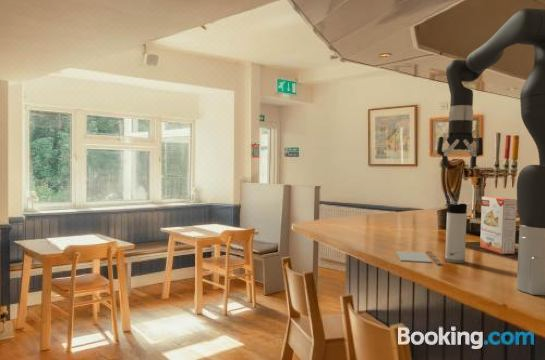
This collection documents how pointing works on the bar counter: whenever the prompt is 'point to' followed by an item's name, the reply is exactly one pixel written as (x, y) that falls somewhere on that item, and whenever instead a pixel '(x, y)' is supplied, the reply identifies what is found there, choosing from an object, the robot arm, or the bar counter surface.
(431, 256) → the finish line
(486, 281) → the bar counter surface
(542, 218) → the robot arm
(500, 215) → the cracker box
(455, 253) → the travel mug
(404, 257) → the mat
